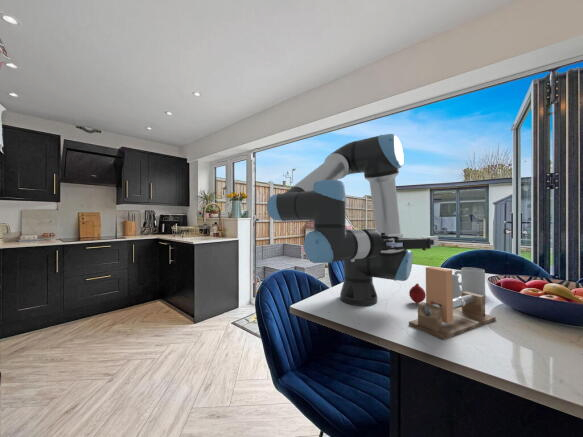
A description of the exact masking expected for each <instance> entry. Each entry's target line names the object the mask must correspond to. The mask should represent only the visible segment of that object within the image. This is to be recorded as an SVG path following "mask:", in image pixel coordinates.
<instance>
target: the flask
mask: <svg viewBox="0 0 583 437" xmlns="http://www.w3.org/2000/svg"><path fill="white" fill-rule="evenodd" d="M459 278H460V275H458V274H457V275H454V274H452V287H453V299H454V298H456V297H462V288H461V287H460V286H461V285H459V282H460V281H459ZM458 281H459V282H458Z"/></svg>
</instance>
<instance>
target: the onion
mask: <svg viewBox="0 0 583 437" xmlns="http://www.w3.org/2000/svg"><path fill="white" fill-rule="evenodd" d="M408 293H409V294H408V296H409V297H410V299H411V301H413V302H414V303H415V304H418V303H421V302H423V301H425V300H426V290H425V289H424V288H423V287H422V286H420V283H415V285H414V286H412V287H411V288H410V289H409V292H408Z"/></svg>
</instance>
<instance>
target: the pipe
mask: <svg viewBox="0 0 583 437" xmlns="http://www.w3.org/2000/svg"><path fill="white" fill-rule="evenodd" d="M475 302H476V298H475V297H474V296H473V295H465V296H462V297H456V298H454V299H453V309H456V308H460V307H464V306H466V305H470V304H473V303H475ZM431 305H434V306H437V307H440V308H442V305H441V304H438V303H435V304H431ZM425 307H427V306H424V308H425ZM424 308H423V310H422V311H423V314H424V315H425V316H427V315H429V313H430V315H429V316H431V310H430V311H429V310H428V311H427V308H428V309H430V308H429V307H427V308H425V310H424ZM424 311H426V313H425V312H424ZM426 314H427V315H426ZM429 316H428V317H429Z"/></svg>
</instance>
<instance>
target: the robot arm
mask: <svg viewBox="0 0 583 437" xmlns="http://www.w3.org/2000/svg"><path fill="white" fill-rule="evenodd" d="M404 163H405V155H404V150H403V146H402V144H401V141H400V140H399V137H397V136H396V135H395V134H393V133H387V134H379V135H377V136H372V137H368V138H363V139H360V140H359V139H358V140H354V141H351V142H348V143H346V144H344V145H342V146H341V147H338V148H337V149H336V150H334V151H333V152H331V153H330V154H328V156H326V157H325V158H324V161H323V163H322V164H320V165H319V166H318V167H316V168H314V170H313V171H311V172H309V173H308V174H307V175H306V176H305V177H303V178H302V179H300V181H298V182H297V183H296V184H294V185H293V186H292V187H289V189H288V190H286V191H285V192H283V193H276V194H272V195H271V196H269V198H268V199H267V203H266V212H267V214H268V216H269V218H270V219H272V220H273V221H280V222H295V221H296V222H298V221H300V222H301V221H302V222H303V221H313V230H312V231H309V232H308V233H306V235H305V237H304V240H303V252H304V253H305V254H304V255H305V256H306V258H307V260H309V262H311V263H313V264H325V263H327V264H331V263H335V262H342V261H343V284H342V287H341V290H340V295H339V298H340V301H342V302H343V303H346V304H347V305H348V304H349V305H351V306H359V307H361V306H364V307H365V306H372V305H375V304H377V303H378V293H377V290H376V288H375V285H374V282H373V280H374V279H373V278H376V279H377V278H378V279H383V280H384V279H385V280H392V281H395V282H396V281H398V282H399V281H400V282H405V281H407V280H408V279H409V277H410V276H411V272H412V268H413V257H414V255H413V252H412V250H422V251H427V250H430V249H431V248H433V247H439V236H438V235H432V236H420V237H404V234H403V233H401V226H400V225H401V224H400V223H401V222H400V216H399V204H398V195H397V185H396V177H397V176H398V175H399V173H400V169H401V168H403V166H404V165H405V164H404ZM362 173H363V176H364V179H365V180H367V181H368V182H369V189H370V196H371V202H372V203H371V204H372V211H373V212H372V213H373V219H374V228H375V229H373V228H364V229H363V228H362V229H357V228H356V229H346V201H347V199H346V191H345V190H346V189H345V184H344V182H342V181H341V180H342V179H344V178H345V177H347V176H348V175H349V176H350V175H354V174H362Z"/></svg>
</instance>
